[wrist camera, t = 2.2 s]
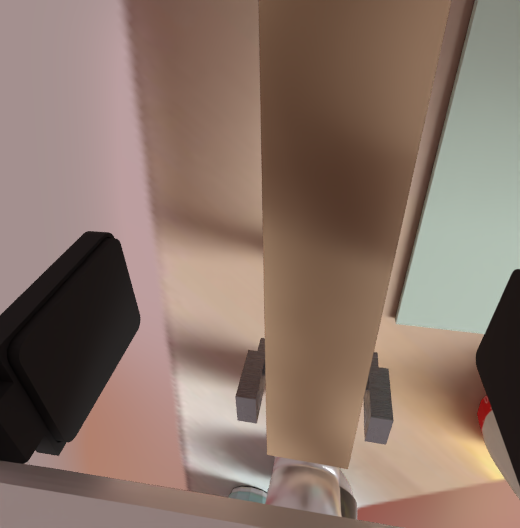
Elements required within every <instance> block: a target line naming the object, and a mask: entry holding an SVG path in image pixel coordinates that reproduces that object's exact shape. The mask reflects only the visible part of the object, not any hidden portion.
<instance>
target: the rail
mask: <svg viewBox="0 0 520 528" xmlns="http://www.w3.org/2000/svg"><path fill="white" fill-rule="evenodd" d="M451 1H452V0H259V46H260V101H261V155H262V210H263V265H264V319H265V374H266V428H267V455H271V456H276V457H282V458H288V459H293V460H299V461H305V462H310V463H316V464H322V465H327V466H333V467H339V468H344V469H348V466H349V462H350V457H351V452H352V448H353V443H354V439H355V434H356V430H357V425H358V421H359V416H360V412H361V407H362V403H363V398H364V394H365V389H366V385H367V380H368V376H369V371H370V367H371V362H372V358H373V353H374V349H375V344H376V340H377V335H378V331H379V326H380V322H381V317H382V312H383V308H384V303H385V299H386V294H387V290H388V285H389V281H390V276H391V272H392V267H393V263H394V258H395V254H396V249H397V245H398V240H399V236H400V231H401V227H402V222H403V218H404V213H405V209H406V204H407V200H408V195H409V191H410V186H411V182H412V177H413V172H414V168H415V163H416V159H417V154H418V150H419V145H420V141H421V136H422V132H423V127H424V123H425V118H426V114H427V109H428V105H429V100H430V96H431V91H432V87H433V82H434V78H435V73H436V69H437V64H438V60H439V55H440V51H441V46H442V42H443V37H444V33H445V28H446V23H447V19H448V14H449V10H450V5H451Z"/></svg>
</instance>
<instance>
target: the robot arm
mask: <svg viewBox="0 0 520 528" xmlns="http://www.w3.org/2000/svg"><path fill="white" fill-rule="evenodd" d="M139 325H140V314H139V310H138V306H137V302H136V299H135V295H134V292H133V288H132V284H131V280H130V277H129V273H128V269H127V266H126V262H125V258H124V255H123V251H122V247H121V244H120V241H119V240H118V239H115V238H114V236H113V235H112V234H111V233H107V232H93V231H92V232H91V231H88V232H85V233H84V234H83V235H82V236H81V237H80V238H79V239H78V240H77V241H76V242H75V243H74V244H73V245H72V246H71V247H70V248H69V249H68V250H66V252H65V253H64V254H62V255H61V256H60V258H58V259H57V260H56V261H55V262H54V263H53V264H52V265H51V266H50V267H49V268H48V269H47V270H46V271H45V272H44V273H43V274H42V275H41V276H40V277H39V278H38V279H37V280H36V281H35V282H34V283H33V284H32V285H31V286H30V287H29V288H28V289H27V290H26V291H25V292H24V293H23V294H22V295H21V296H20V297H18V298H17V299H16V300H15V301H14V302H13V303H12V304H11V305H10V306H9V307H8V308H7V309H6V310H5V311H4V312H3V313H2V314H1V315H0V528H401V527H396V526H390V525H384V524H379V523H373V522H367V521H362V520H356V519H350V518H345V517H339V516H333V515H327V514H321V513H315V512H310V511H304V510H298V509H292V508H286V507H280V506H275V505H269V504H263V503H257V502H251V501H245V500H239V499H233V498H228V497H222V496H216V495H210V494H204V493H198V492H192V491H186V490H180V489H174V488H167V487H162V486H156V485H150V484H144V483H138V482H132V481H126V480H120V479H114V478H108V477H101V476H96V475H90V474H83V473H78V472H72V471H66V470H59V469H53V468H46V467H40V466H33V465H30V464H29V459H30V457H31V456H32V454H33V453H34V451H35V450H36V451H37V452H39V453H45V454H51V455H57V456H58V455H59V454H60V452H61V451H62V449H63V448H64V446H65V444H66V442H70V441H72V440H73V439H74V438H75V436H76V435H77V433H78V432H79V430H80V428H81V427H82V424H83V423H84V421H85V420H86V418H87V416H88V415H89V413H90V411H91V409H92V408H93V406H94V404H95V403H96V401H97V399H98V397H99V396H100V394H101V392H102V390H103V389H104V387H105V385H106V384H107V382H108V380H109V378H110V377H111V375H112V373H113V372H114V370H115V368H116V366H117V364H118V363H119V361H120V360H121V358H122V356H123V354H124V353H125V351H126V349H127V348H128V346H129V344H130V342H131V341H132V339H133V337H134V335H135V334H136V332H137V330H138V328H139ZM476 365H477V369H478V371H479V374H480V377H481V380H482V383H483V385H484V388H485V391H486V394H487V397H488V399H489V402H490V405H491V408H492V411H493V413H494V416H495V419H496V422H497V425H498V427H499V430H500V433H501V436H502V439H503V441H504V444H505V447H506V450H507V452H508V455H509V458H510V461H511V464H512V466H513V469H514V472H515V475H516V478H517V480H518V483H519V486H520V269H516V270H514V271H513V272H512V274H511V276H510V278H509V281H508V283H507V285H506V287H505V290H504V292H503V294H502V296H501V299H500V301H499V303H498V305H497V307H496V310H495V312H494V314H493V316H492V319H491V321H490V323H489V325H488V328H487V330H486V332H485V334H484V337H483V339H482V341H481V343H480V345H479V348H478V350H477V353H476Z"/></svg>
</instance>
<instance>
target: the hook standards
mask: <svg viewBox="0 0 520 528" xmlns="http://www.w3.org/2000/svg"><path fill="white" fill-rule="evenodd" d="M265 382H266V374H265V339H264V338H261V339H260V343H259V347H258V351H251V350H248V354H247V357H246V361H245V365H244V368H243V372H242V375H241V379H240V382H239V386H238V390H237V393H236V407H237V418H238V420H239V421H245V422H251V423H257V420H258V415H259V410H260V406H261V401H262V396H263V392H264V387H265ZM392 423H393V412H392V401H391V391H390V380H389V370H388V369H387V368H379V367H378V355H377V353H375V352H374V353H373V358H372V362H371V367H370V371H369V376H368V380H367V385H366V389H365V394H364V430H365V441H368V442H374V443H380V444H386V443H387V439H388V436H389V433H390V430H391V427H392Z"/></svg>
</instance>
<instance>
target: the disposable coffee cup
mask: <svg viewBox="0 0 520 528" xmlns="http://www.w3.org/2000/svg"><path fill="white" fill-rule="evenodd" d="M228 498H233V499H239V500H245V501H251V502H257V503H263V504H265V502H266V498H267V493H265V492H264V491H262V490H258V489H255V488H252V487H238V488H234V489H233V490H232V492H231V494H230V495H229V497H228Z"/></svg>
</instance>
